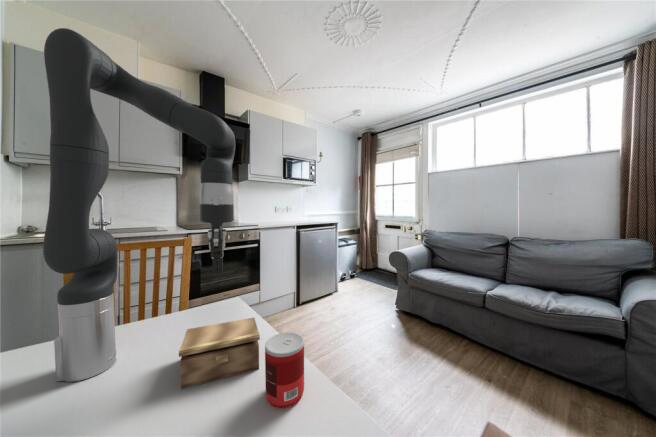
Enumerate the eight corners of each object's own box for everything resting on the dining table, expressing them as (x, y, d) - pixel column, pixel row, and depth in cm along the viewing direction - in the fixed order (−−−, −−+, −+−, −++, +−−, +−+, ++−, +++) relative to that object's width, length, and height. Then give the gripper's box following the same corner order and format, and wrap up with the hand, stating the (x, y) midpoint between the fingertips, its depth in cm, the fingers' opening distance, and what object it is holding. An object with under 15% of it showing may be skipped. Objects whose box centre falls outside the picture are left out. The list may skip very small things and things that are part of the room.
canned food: (310, 384, 52) (309, 335, 51) (292, 415, 44) (292, 357, 44) (279, 376, 54) (278, 329, 54) (257, 404, 47) (257, 349, 46)
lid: (178, 356, 50) (178, 352, 50) (187, 332, 61) (187, 328, 61) (259, 339, 57) (259, 335, 57) (254, 320, 68) (254, 316, 68)
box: (180, 389, 50) (180, 362, 50) (189, 356, 62) (188, 333, 61) (259, 369, 57) (258, 344, 56) (253, 342, 68) (253, 321, 68)
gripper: (202, 202, 63) (203, 267, 64) (196, 202, 51) (196, 282, 52) (233, 203, 66) (233, 265, 67) (233, 202, 54) (234, 278, 55)
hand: (217, 272), depth 59 cm, fingers closed
